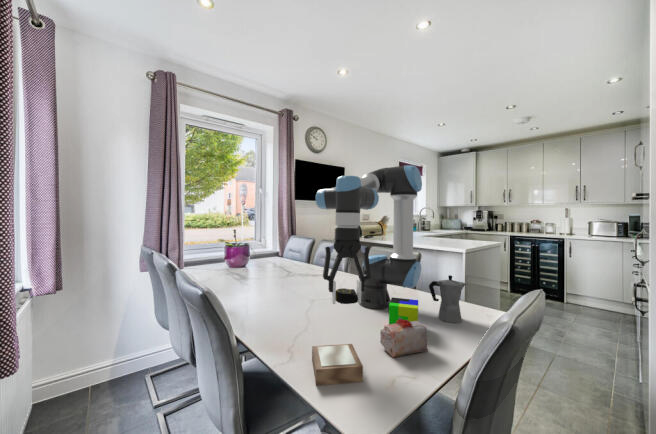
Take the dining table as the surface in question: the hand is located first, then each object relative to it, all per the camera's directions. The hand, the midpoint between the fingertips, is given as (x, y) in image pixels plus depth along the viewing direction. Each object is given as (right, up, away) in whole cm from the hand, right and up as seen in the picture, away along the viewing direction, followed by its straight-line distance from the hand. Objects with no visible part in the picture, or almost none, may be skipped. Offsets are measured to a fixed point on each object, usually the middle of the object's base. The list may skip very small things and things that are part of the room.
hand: (346, 302), depth 82 cm
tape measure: (+1, 0, 0) cm, 1 cm away
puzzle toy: (+23, -16, +19) cm, 34 cm away
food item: (+18, -16, +3) cm, 25 cm away
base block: (-4, -16, -8) cm, 18 cm away
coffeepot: (+44, -16, +29) cm, 55 cm away
